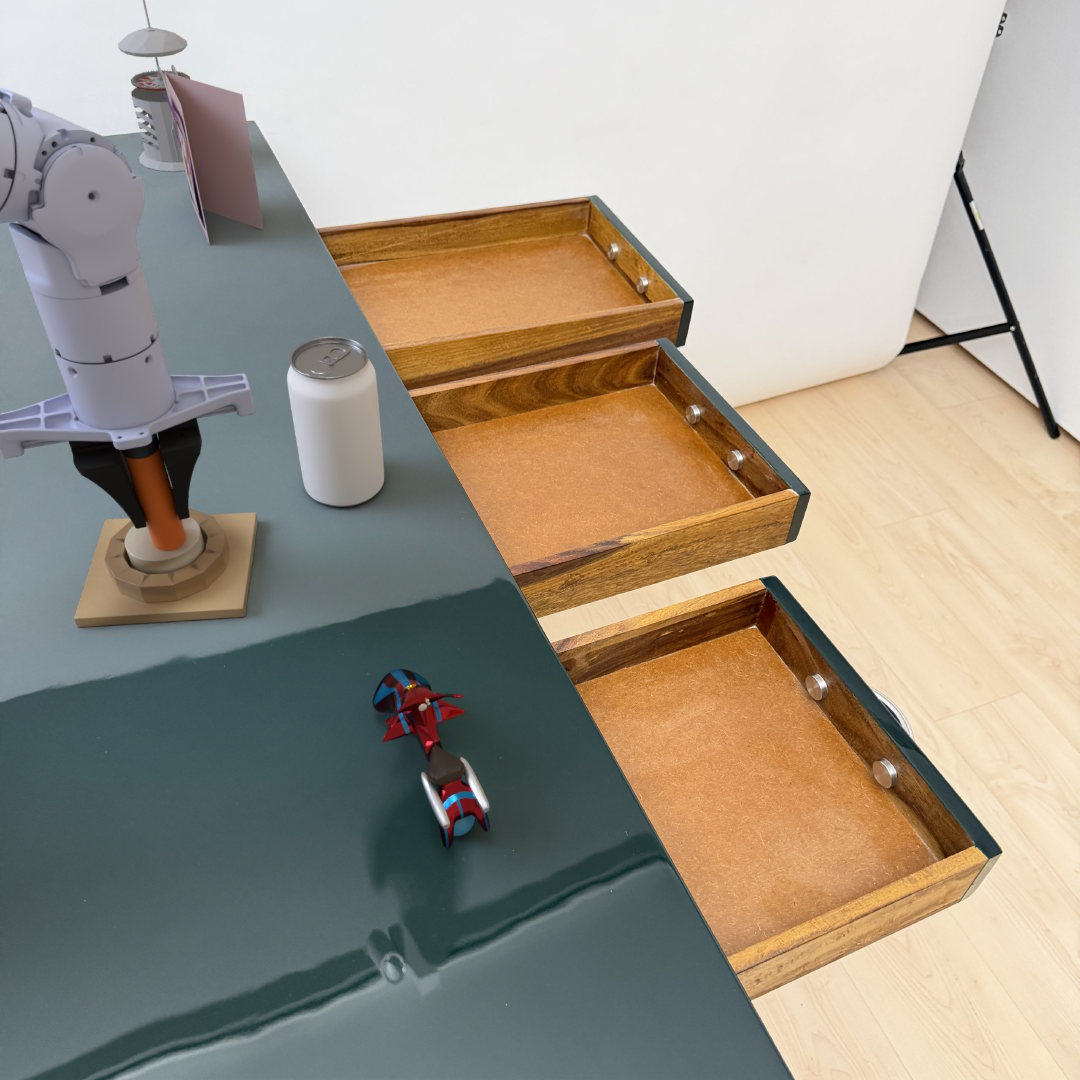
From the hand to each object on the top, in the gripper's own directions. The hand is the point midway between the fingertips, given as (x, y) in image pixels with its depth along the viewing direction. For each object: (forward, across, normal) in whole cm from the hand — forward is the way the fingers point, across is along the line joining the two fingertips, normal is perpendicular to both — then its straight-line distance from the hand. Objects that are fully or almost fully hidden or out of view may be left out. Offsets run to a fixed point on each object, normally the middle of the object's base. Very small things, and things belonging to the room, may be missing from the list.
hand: (161, 514), depth 61 cm
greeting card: (+6, +12, +58) cm, 60 cm away
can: (+6, +14, +6) cm, 16 cm away
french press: (+6, +9, +79) cm, 80 cm away
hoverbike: (+6, +12, -22) cm, 25 cm away
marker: (+2, 0, 0) cm, 2 cm away
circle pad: (+4, 0, +1) cm, 4 cm away
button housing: (+6, 0, +1) cm, 6 cm away
